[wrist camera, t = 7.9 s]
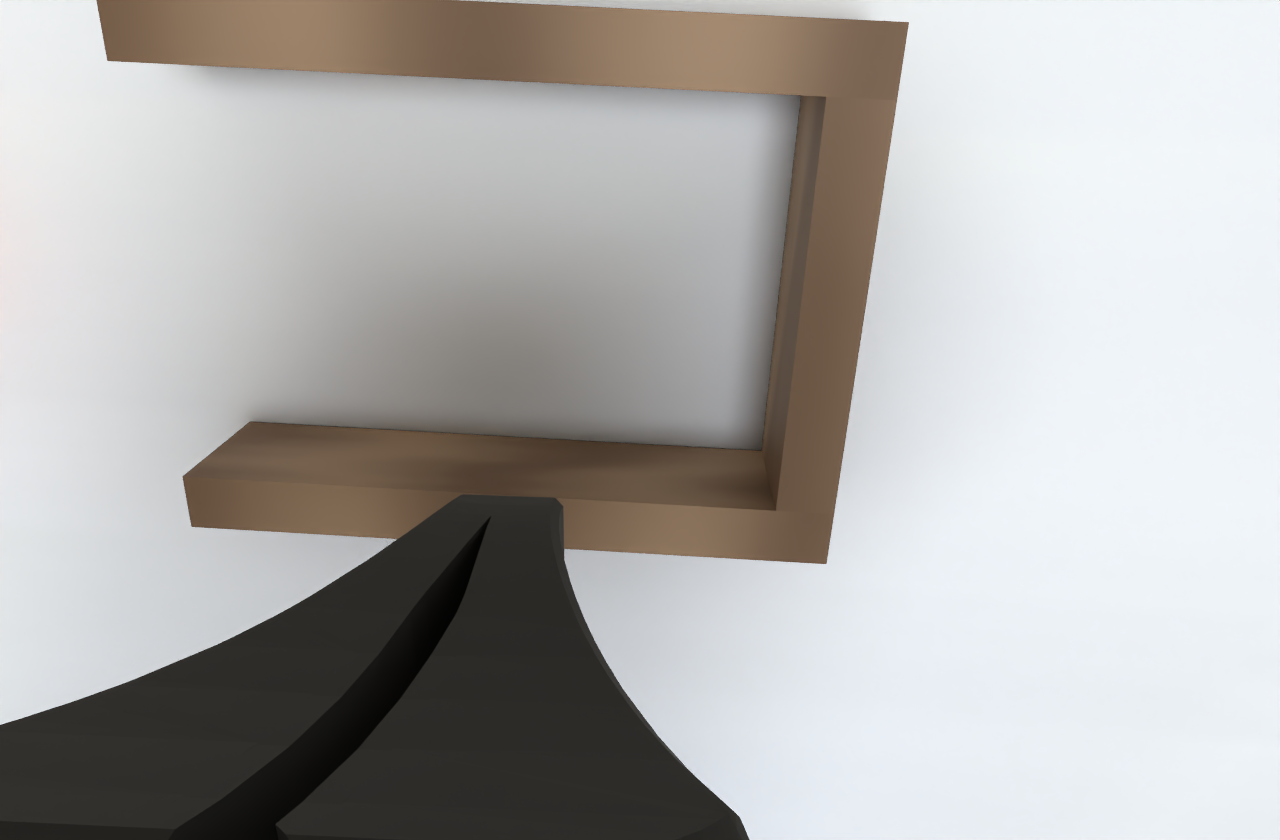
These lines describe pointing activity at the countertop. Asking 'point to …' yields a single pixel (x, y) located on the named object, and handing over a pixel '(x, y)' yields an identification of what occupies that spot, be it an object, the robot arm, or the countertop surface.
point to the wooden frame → (569, 469)
